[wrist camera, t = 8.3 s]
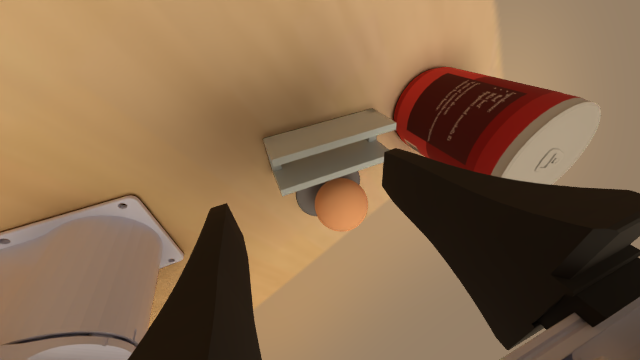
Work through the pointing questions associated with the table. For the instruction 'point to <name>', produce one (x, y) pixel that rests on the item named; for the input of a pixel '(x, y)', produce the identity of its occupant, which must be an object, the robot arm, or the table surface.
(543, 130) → the canned food
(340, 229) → the ball
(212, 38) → the table surface
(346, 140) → the acrylic fence
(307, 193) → the coaster
